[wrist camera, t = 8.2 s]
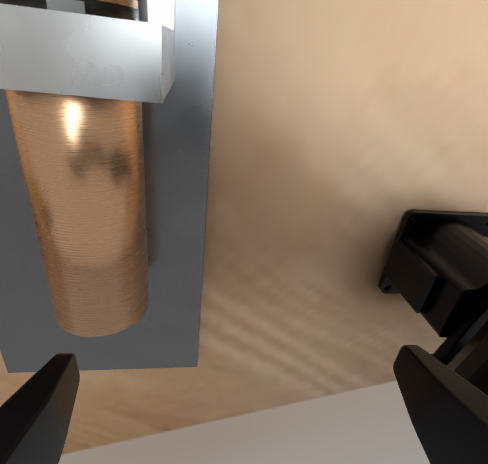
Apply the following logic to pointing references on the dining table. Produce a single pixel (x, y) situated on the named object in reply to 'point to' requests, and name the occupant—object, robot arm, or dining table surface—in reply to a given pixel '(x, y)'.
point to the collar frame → (88, 53)
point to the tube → (86, 193)
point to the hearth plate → (157, 220)
